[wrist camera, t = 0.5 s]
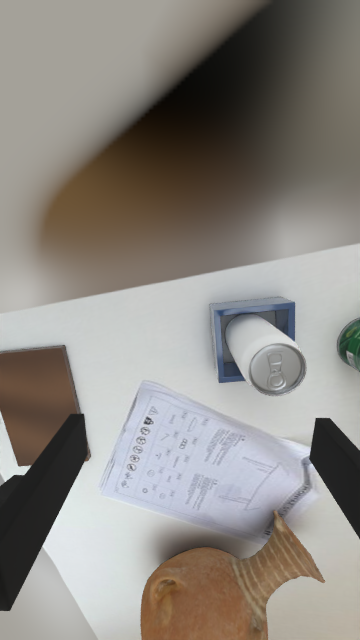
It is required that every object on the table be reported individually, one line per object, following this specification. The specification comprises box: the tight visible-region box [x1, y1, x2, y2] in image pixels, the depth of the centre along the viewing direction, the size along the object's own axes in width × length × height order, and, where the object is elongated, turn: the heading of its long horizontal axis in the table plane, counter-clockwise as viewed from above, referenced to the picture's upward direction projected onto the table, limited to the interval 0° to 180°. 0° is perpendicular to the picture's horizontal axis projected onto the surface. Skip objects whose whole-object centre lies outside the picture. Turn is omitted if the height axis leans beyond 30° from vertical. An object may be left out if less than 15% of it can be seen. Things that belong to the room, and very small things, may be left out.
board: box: [0, 345, 91, 466], centre depth 38 cm, size 20×12×1 cm, turn 6°
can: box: [225, 313, 306, 396], centre depth 29 cm, size 6×6×12 cm
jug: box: [141, 510, 325, 640], centre depth 37 cm, size 20×19×30 cm
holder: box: [210, 297, 295, 383], centre depth 33 cm, size 10×10×4 cm
